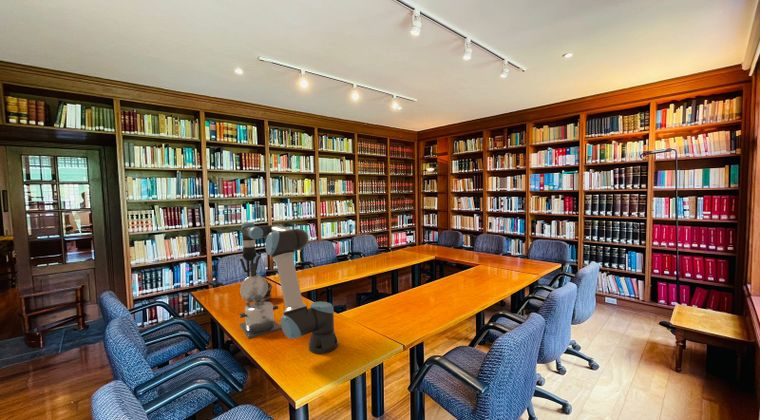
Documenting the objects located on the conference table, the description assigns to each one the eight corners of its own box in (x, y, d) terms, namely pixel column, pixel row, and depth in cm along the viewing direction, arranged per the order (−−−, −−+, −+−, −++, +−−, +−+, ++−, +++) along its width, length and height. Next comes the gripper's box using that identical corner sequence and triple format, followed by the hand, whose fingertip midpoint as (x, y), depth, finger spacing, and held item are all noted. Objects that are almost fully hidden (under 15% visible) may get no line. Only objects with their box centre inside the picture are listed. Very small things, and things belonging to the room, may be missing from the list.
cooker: (284, 328, 186) (283, 305, 185) (245, 339, 173) (244, 315, 172) (272, 316, 204) (271, 296, 203) (236, 326, 191) (235, 304, 190)
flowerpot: (276, 296, 243) (274, 271, 242) (267, 303, 228) (265, 277, 227) (258, 296, 245) (257, 271, 244) (248, 303, 230) (247, 277, 228)
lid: (266, 261, 198) (265, 260, 201) (238, 265, 189) (237, 264, 191) (268, 298, 199) (267, 297, 202) (241, 304, 189) (240, 303, 192)
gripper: (258, 244, 206) (259, 279, 208) (236, 246, 199) (238, 282, 200) (261, 245, 200) (262, 281, 202) (239, 248, 192) (241, 285, 194)
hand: (250, 282), depth 201 cm, fingers closed
